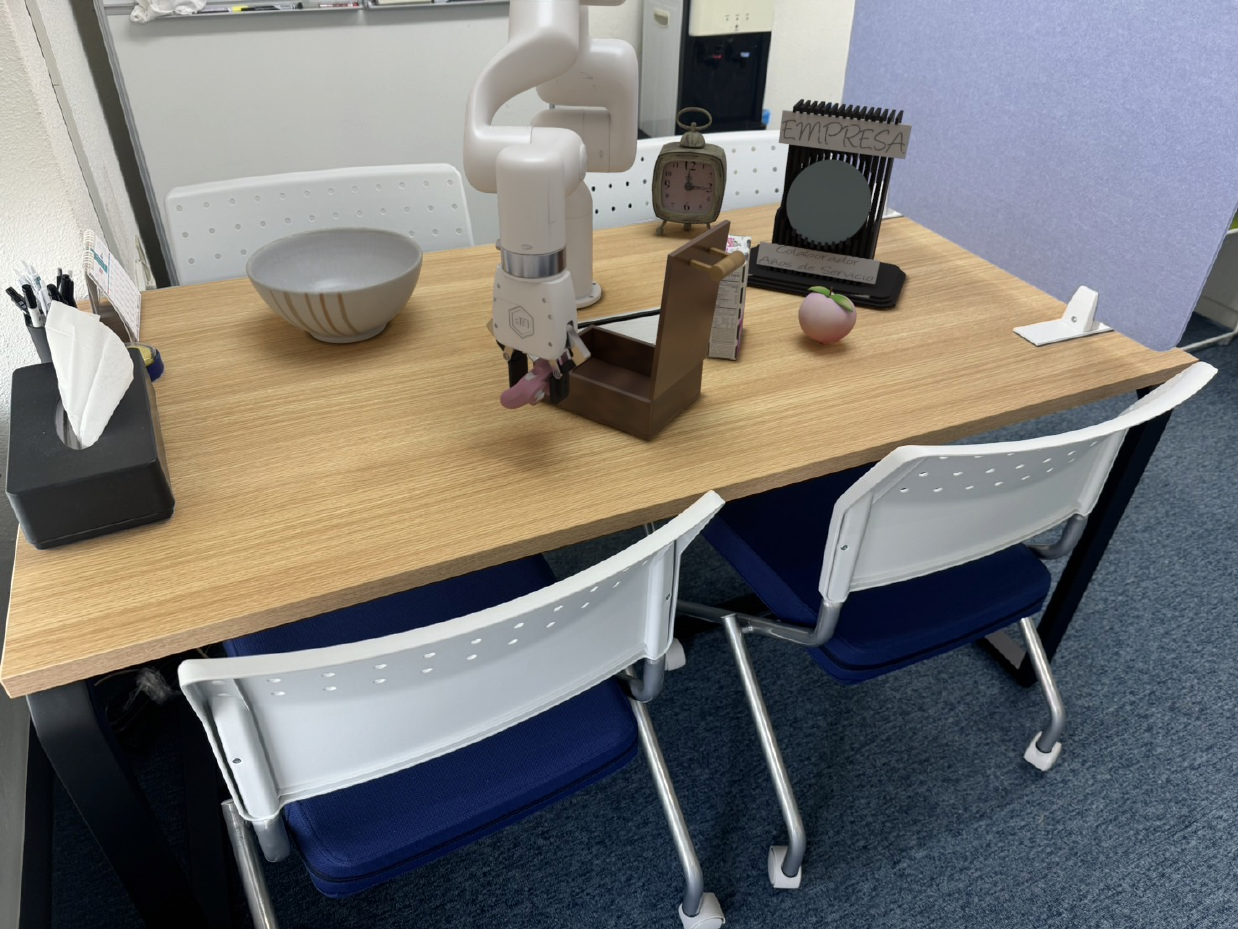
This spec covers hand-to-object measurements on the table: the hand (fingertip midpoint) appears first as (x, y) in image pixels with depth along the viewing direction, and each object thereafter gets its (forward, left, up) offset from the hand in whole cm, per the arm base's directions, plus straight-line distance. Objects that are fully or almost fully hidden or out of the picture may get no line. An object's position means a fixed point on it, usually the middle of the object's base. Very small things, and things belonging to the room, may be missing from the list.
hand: (539, 391), depth 110 cm
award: (+8, +75, -9) cm, 76 cm away
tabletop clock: (-24, +81, -9) cm, 85 cm away
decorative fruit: (+19, +50, -9) cm, 54 cm away
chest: (+1, +17, -9) cm, 19 cm away
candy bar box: (+6, +41, -9) cm, 42 cm away
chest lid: (+11, +17, +8) cm, 22 cm away
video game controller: (0, 0, -1) cm, 1 cm away
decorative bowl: (-48, +10, -9) cm, 50 cm away
